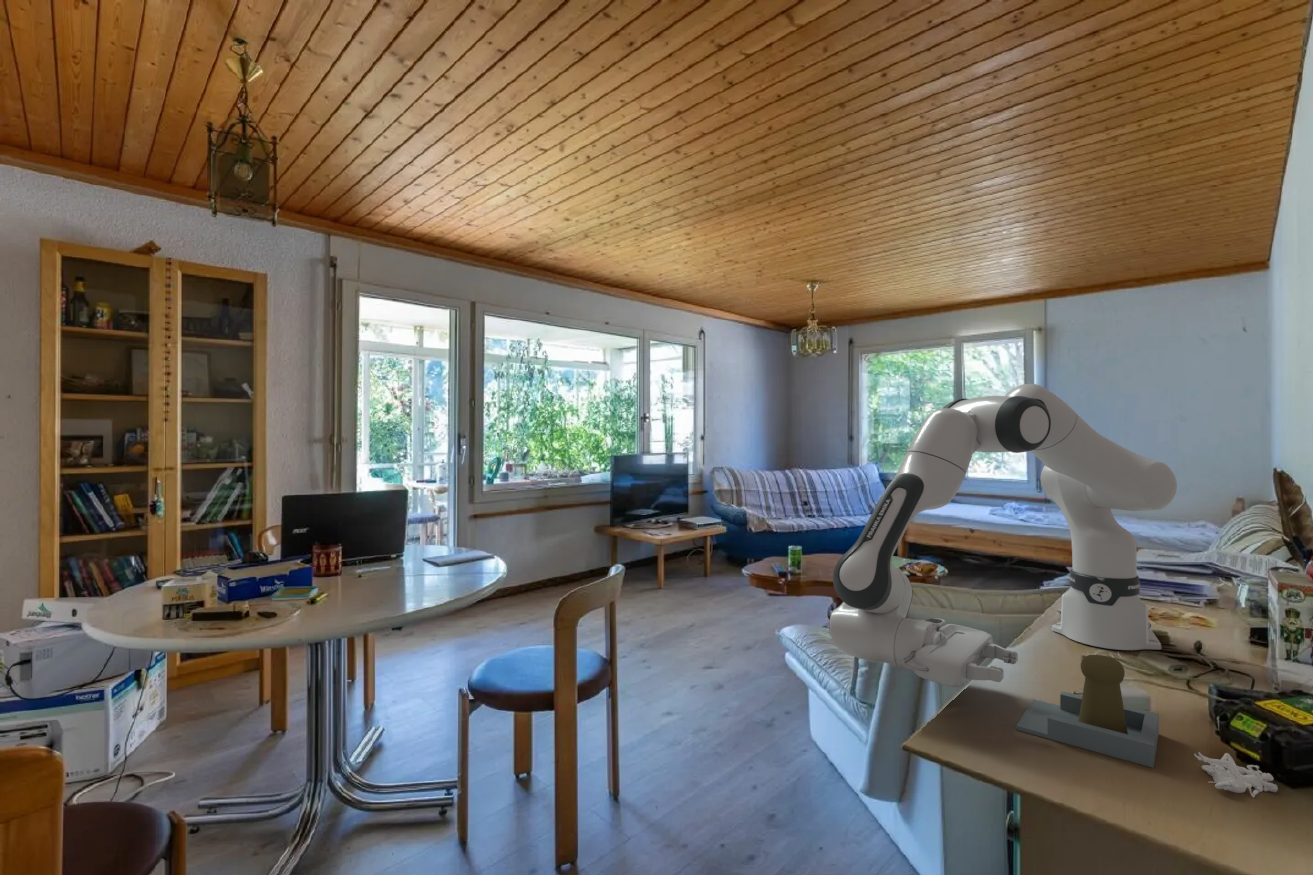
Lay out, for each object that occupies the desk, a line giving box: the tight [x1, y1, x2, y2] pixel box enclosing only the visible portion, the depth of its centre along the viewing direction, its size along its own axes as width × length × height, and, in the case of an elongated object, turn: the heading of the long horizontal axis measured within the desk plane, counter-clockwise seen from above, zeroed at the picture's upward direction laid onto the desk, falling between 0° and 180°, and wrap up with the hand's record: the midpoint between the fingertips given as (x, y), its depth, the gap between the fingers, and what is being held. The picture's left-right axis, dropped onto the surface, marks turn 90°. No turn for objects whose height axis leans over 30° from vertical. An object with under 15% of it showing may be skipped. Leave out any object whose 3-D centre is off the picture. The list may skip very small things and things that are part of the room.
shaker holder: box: [1016, 691, 1160, 769], centre depth 91 cm, size 12×16×3 cm
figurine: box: [1193, 751, 1279, 798], centre depth 78 cm, size 3×8×8 cm
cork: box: [1078, 654, 1128, 734], centre depth 90 cm, size 6×6×11 cm
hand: (1010, 666), depth 98 cm, fingers open, 8 cm apart
